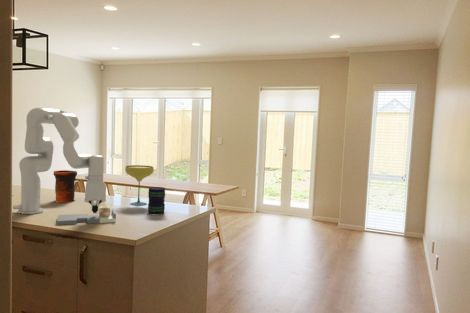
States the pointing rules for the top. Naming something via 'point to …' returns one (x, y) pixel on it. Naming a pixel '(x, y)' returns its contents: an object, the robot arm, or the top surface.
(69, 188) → the vessel
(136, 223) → the top surface
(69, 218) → the trap board
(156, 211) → the storage jar
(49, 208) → the top surface
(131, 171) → the cocktail glass
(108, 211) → the maple block
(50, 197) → the top surface
